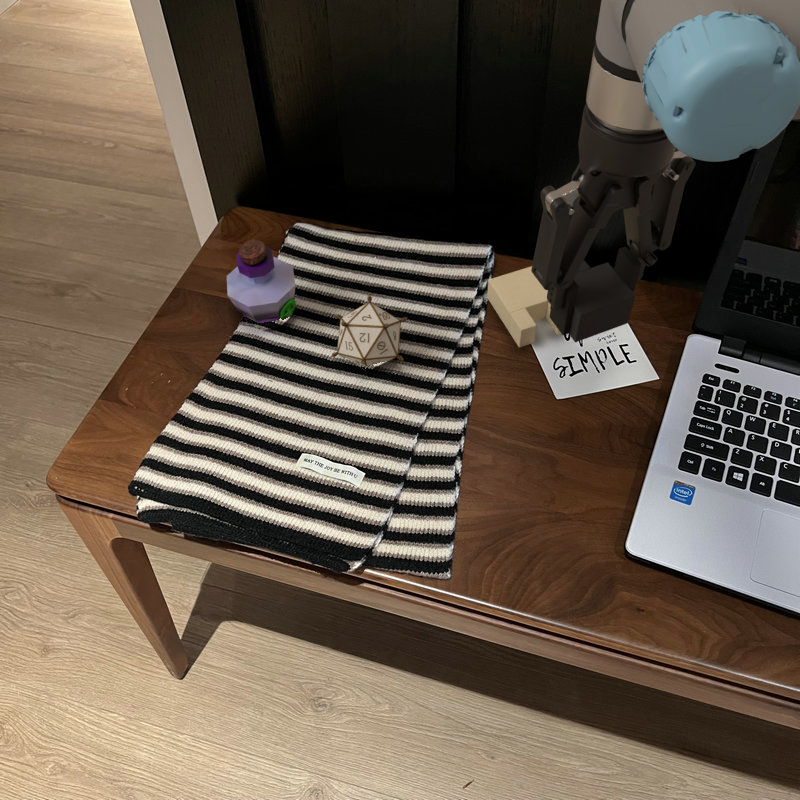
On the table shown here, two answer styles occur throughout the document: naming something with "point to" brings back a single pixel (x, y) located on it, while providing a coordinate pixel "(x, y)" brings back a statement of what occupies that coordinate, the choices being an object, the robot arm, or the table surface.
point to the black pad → (599, 301)
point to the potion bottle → (261, 284)
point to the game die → (369, 335)
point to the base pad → (520, 304)
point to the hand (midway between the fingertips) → (588, 314)
